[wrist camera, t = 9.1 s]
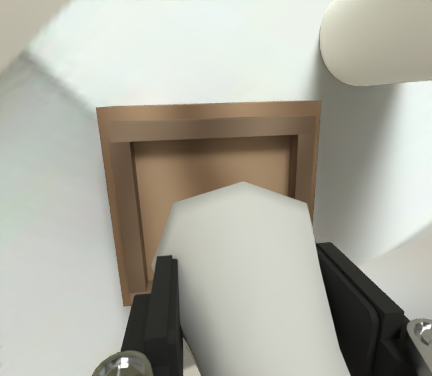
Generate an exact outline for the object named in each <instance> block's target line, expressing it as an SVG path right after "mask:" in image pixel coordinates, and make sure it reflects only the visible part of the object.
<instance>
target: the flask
mask: <svg viewBox="0 0 432 376" xmlns="http://www.w3.org/2000/svg"><path fill="white" fill-rule="evenodd" d="M165 255H172V259H178V283H179V311H180V326H181V330H182V335H183V341H184V342H185V344H186V346H187V348H188V350H189V352H190V354H191V356H192V358H193V360H194V362H195V364H196V365H197V368H198V370H199V372H200V374H201V376H350V373H349V371H348V368H347V366H346V363H345V361H344V358H343V356H342V353H341V351H340V348H339V344H338V340H337V336H336V332H335V328H334V324H333V319H332V315H331V311H330V307H329V303H328V299H327V295H326V290H325V286H324V282H323V278H322V274H321V270H320V265H319V260H318V255H317V250H316V244H315V239H314V234H313V229H312V224H311V219H310V215H309V210H308V206H307V203H305V202H302V201H299V200H296V199H293V198H290V197H287V196H284V195H282V194H279V193H276V192H273V191H270V190H267V189H264V188H261V187H258V186H256V185H253V184H250V183H247V182H244V181H243V182H239V183H236V184H233V185H230V186H226V187H223V188H220V189H217V190H214V191H210V192H207V193H204V194H201V195H197V196H194V197H191V198H188V199H184V200H181V201H178V202H175V203H173V205H172V208H171V211H170V214H169V217H168V219H167V222H166V225H165V228H164V231H163V233H162V236H161V239H160V242H159V245H158V247H157V250H156V253H155V256H154V259H153V261H152V264H151V266H152V269H153V271H155V265H156V259H157V256H165Z"/></svg>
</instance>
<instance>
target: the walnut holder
mask: <svg viewBox="0 0 432 376" xmlns="http://www.w3.org/2000/svg"><path fill="white" fill-rule="evenodd" d="M96 111H97V119H98V126H99V133H100V140H101V147H102V155H103V162H104V169H105V176H106V183H107V191H108V198H109V205H110V212H111V219H112V226H113V234H114V241H115V248H116V255H117V262H118V270H119V277H120V284H121V291H122V298H123V306H132V303H133V299H134V296H135V295H136V294H147V293H151V290H152V284H153V278H154V271H153V269H152V266H151V264H152V261H153V259H154V256H155V253H156V250H157V247H158V245H159V242H160V239H161V236H162V233H163V231H164V228H165V225H166V222H167V219H168V217H169V214H170V211H171V208H172V205H173V203H175V202H178V201H181V200H184V199H188V198H191V197H194V196H197V195H201V194H204V193H207V192H210V191H214V190H217V189H220V188H223V187H226V186H230V185H233V184H236V183H239V182H243V181H244V182H247V183H250V184H253V185H256V186H258V187H261V188H264V189H267V190H270V191H273V192H276V193H279V194H282V195H284V196H287V197H290V198H293V199H296V200H299V201H302V202H305V203H307V206H308V210H309V215H310V219H311V224H312V225H313V211H314V197H315V183H316V169H317V155H318V140H319V126H320V112H321V101H273V102H240V103H207V104H173V105H140V106H112V107H97V108H96Z"/></svg>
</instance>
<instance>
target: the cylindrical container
mask: <svg viewBox="0 0 432 376" xmlns="http://www.w3.org/2000/svg"><path fill="white" fill-rule="evenodd" d="M320 50H321V54H322V58H323V60H324V62H325V65H326V67H327V68H328V69H329V71H330V72H331V74H332V75H334V76H335V77H336V78H337V79H338V80H340V81H342V82H343V83H345V84H349V85H352V86H371V85H383V84H394V83H406V82H417V81H429V80H432V0H333V1H332V2H331V3H330V5H329V6H328V8H327V10H326V12H325V14H324V17H323V21H322V24H321V29H320Z"/></svg>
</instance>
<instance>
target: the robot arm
mask: <svg viewBox="0 0 432 376" xmlns="http://www.w3.org/2000/svg"><path fill="white" fill-rule="evenodd" d="M316 250H317V255H318V260H319V265H320V270H321V274H322V278H323V282H324V286H325V290H326V295H327V299H328V303H329V307H330V311H331V315H332V319H333V324H334V328H335V332H336V336H337V340H338V344H339V348H340V351H341V353H342V356H343V358H344V361H345V363H346V366H347V368H348V371H349V373H350V376H432V320H430V319H415V320H412V321H409V319H408V318H407V317H406V316H405V315H404V311H403V310H402V309H401V308H400V307H399V306H398V305H397V304H396V303H395V302H394V301H392V300H391V299H390V298H389V297H388V296H387V295H386V294H385V293H384V292H383V291H382V290H381V289H380V288H379V287H378V286H377V285H376V284H374V282H372V281H371V280H370V279H369V278H368V277H367V276H366V275H365V274H364V273H363V272H362V271H361V270H360V269H359V268H358V267H357V266H356V265H355V264H353V263H352V262H351V261H350V260H349V259H348V258H347V257H346V256H345V255H344V254H343V253H342V252H341V251H340V250H339V249H338V248H337V247H336V246H334V245H333V244H332V243H331V242H328V243H316ZM92 376H183V335H182V330H181V326H180V311H179V283H178V259H172V255H165V256H157V259H156V265H155V271H154V278H153V284H152V290H151V293H147V294H136V295H135V296H134V299H133V303H132V307H131V311H130V315H129V319H128V323H127V327H126V332H125V336H124V340H123V344H122V348H121V352H118V353H116V354H114V355H111V356H109V357H108V358H107V359H105V360H104V361H102V362H101V363H100V365H99V366H98V367H97V368H96V369H95V371H94V373H93V374H92Z"/></svg>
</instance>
